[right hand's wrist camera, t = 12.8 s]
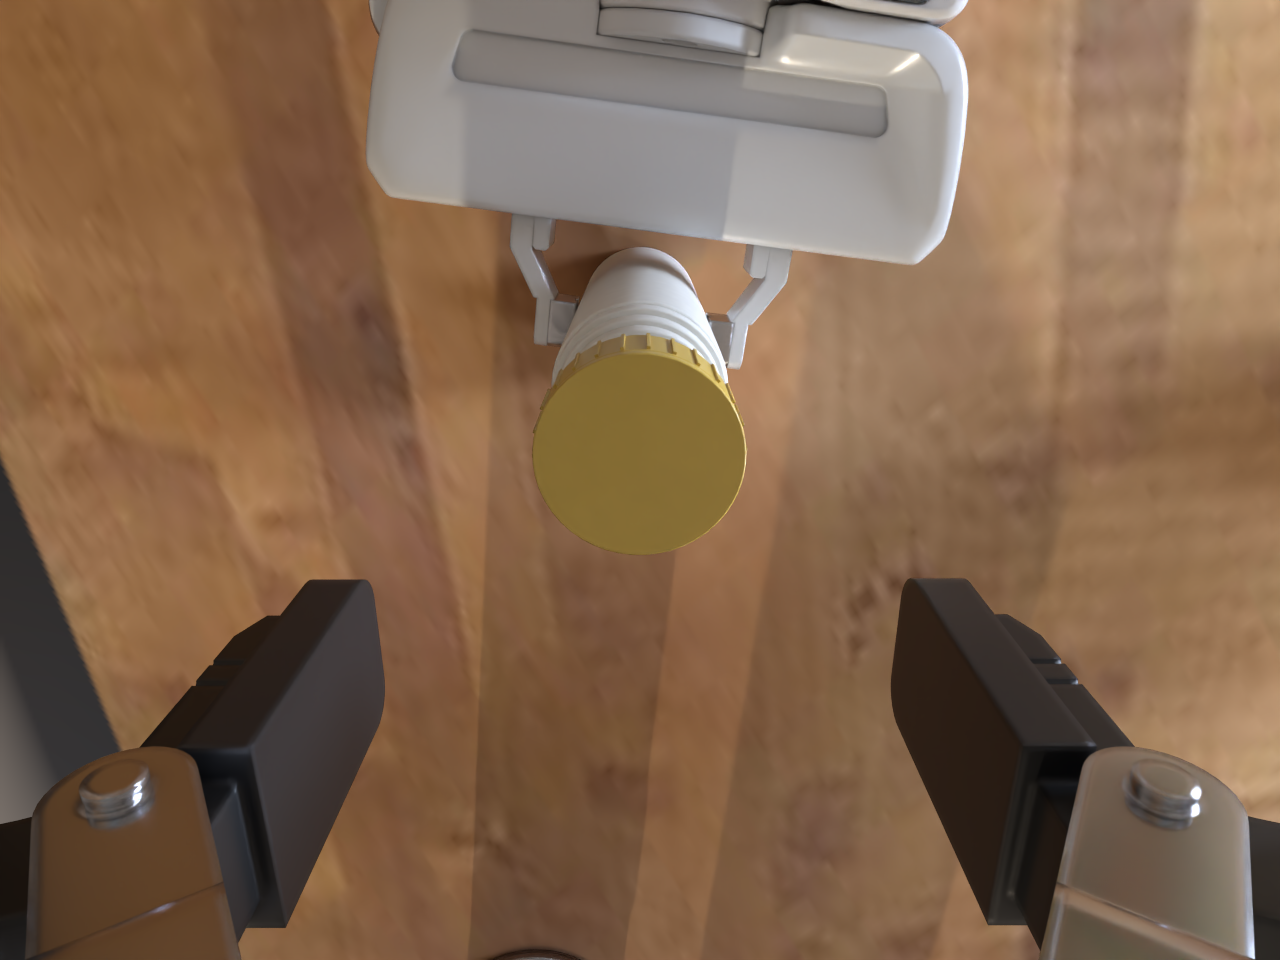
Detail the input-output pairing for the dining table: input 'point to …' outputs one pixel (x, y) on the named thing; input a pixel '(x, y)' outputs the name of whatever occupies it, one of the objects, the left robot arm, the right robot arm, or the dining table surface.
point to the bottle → (640, 307)
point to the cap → (639, 445)
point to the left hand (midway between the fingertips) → (638, 354)
